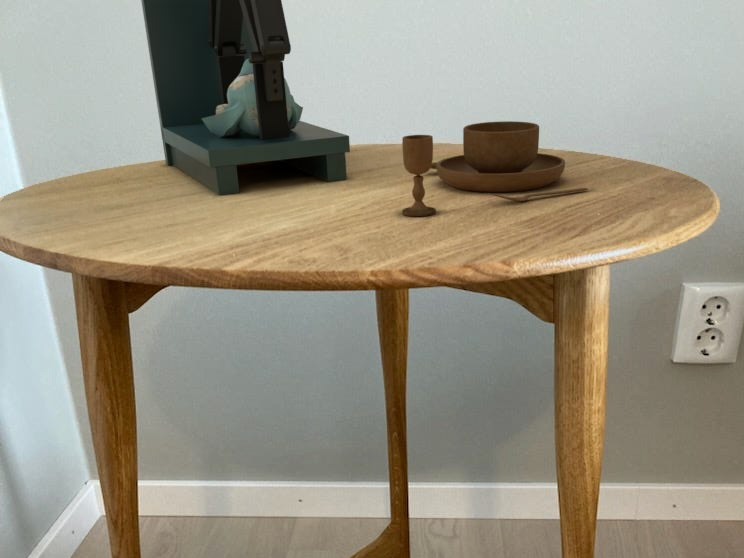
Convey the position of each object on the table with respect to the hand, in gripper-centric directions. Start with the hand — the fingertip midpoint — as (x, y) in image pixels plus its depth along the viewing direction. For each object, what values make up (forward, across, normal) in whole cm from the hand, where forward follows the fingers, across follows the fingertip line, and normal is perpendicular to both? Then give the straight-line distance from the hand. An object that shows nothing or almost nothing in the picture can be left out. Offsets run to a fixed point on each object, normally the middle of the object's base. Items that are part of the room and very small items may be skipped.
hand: (255, 131), depth 92 cm
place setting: (+4, -18, -14) cm, 24 cm away
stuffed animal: (0, 0, 0) cm, 0 cm away
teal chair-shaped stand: (+4, +2, 0) cm, 5 cm away
